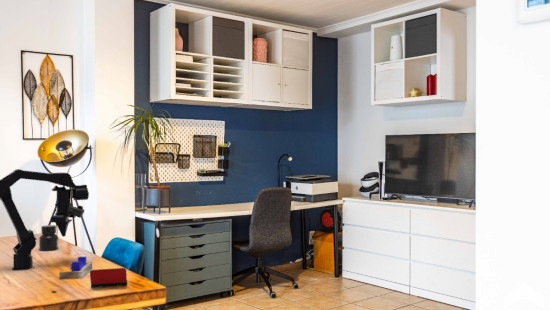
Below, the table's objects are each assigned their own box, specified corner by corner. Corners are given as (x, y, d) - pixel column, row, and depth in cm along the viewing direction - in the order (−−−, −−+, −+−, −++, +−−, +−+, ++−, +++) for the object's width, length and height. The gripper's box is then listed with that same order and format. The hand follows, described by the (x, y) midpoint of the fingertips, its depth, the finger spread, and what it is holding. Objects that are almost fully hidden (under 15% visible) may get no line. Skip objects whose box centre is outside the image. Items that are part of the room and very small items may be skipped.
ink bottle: (62, 249, 282) (62, 225, 282) (47, 251, 275) (47, 227, 275) (50, 247, 288) (50, 224, 288) (35, 250, 280) (35, 226, 280)
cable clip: (75, 271, 229) (74, 256, 229) (86, 271, 230) (86, 256, 230) (67, 277, 217) (67, 262, 217) (79, 277, 218) (79, 262, 218)
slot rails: (59, 279, 214) (59, 272, 214) (71, 268, 233) (71, 262, 233) (82, 278, 215) (82, 271, 215) (92, 268, 234) (92, 262, 234)
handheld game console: (127, 281, 210) (127, 262, 210) (126, 288, 199) (126, 268, 199) (92, 283, 207) (92, 264, 207) (89, 290, 196) (89, 269, 196)
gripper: (77, 202, 236) (77, 239, 236) (87, 199, 255) (87, 233, 255) (50, 202, 235) (50, 239, 235) (61, 199, 254) (62, 233, 254)
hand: (63, 236), depth 245 cm, fingers closed
